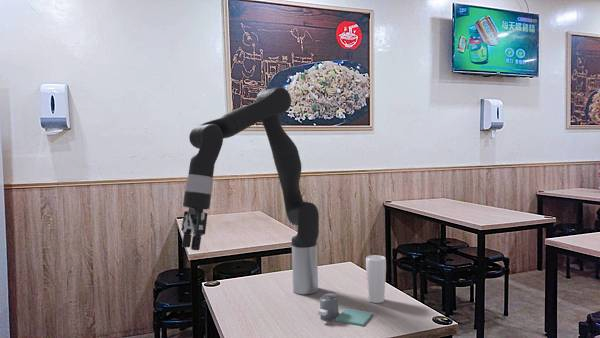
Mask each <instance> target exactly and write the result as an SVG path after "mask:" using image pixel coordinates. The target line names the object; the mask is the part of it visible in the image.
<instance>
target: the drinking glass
mask: <svg viewBox="0 0 600 338" xmlns="http://www.w3.org/2000/svg"><path fill="white" fill-rule="evenodd" d="M365 272H366V281H367V283H366V284H367V291H368V292H367V293H368V301H369V302H371V303H374V304H382V303H384V301H385V294H386V293H385V290H386V289H385V288H386V278H387V277H386V274H387V259H386V257H385V256H383V255H379V254H378V255H375V254H371V255H367V256H366V257H365Z"/></svg>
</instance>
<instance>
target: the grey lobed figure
mask: <svg viewBox="0 0 600 338" xmlns="http://www.w3.org/2000/svg"><path fill="white" fill-rule="evenodd" d="M339 310H340V309H339V295H338V294H337V293H332V292H331V293H326V294H324V295H323V296H321V297H320V298H319V309H318V310H317V311H318V313H317V314H318V315H319V316H320V318H319V319H320V320H322V321H324V322H330V321H332V322H333V321H335V319H336V318H337V317H338V316H339V315H340V312H339Z"/></svg>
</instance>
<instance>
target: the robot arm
mask: <svg viewBox="0 0 600 338" xmlns="http://www.w3.org/2000/svg"><path fill="white" fill-rule="evenodd" d="M255 99H256V101H255V102H253V103H250V104H247V105H244V106H240V107H238V108H236V109H234V110H231V111H229V112H227V113H225V114H223V115H221V116H218V118H214V119H212V120H209V121H206V122H203V123H201V124H199V125H196V126H195V127H193V128H192V130H191V131H190V133H189V136H188V137H189V138H188V139H189V143H190V144H191V146H193V147H194V148H196V149H198V152H197V153H196V154H195V155H193V156H192V157H191V158H190V162H189V168H188V173H187V174H188V175H187V179H186V182H185V189H184V195H183V196H184V197H183V201H182V202H183V203H182V206H183V207H184V208H188V211H187V210H185V211H184V212H183V216H182V217H183V218H182V224H181V228H180V230H181V232H182V234H183V238H182V244H181V246H182V248H190V249H191V250H192V251H200V247H201V240H202V237H203V235H204V236H205V235H206V230H207V221H208V213H207V212H204V210H209V209H210V207H211V201H212V193H213V181H214V174H215V173H214V171H215V164H216V162H217V160H218V158H219V156H220V155H219V154H220V152H221V148H222V146H223V142H224V139H228V138H231V137H233V136H235V135H238V134H239V133H241V132H243V131H244V130H247V129H248V128H250V127H251V126H253V125H255V124H257V123H260V122H262V125H263V127H264V130H265V133H266V136H267V139H268V142H269V147H270V150H271V155H272V158H273V161H274V166H275V169H276V171H277V172H276V173H277V175H278V179H279V184H280V187H281V190H282V195H283V201H284V203H283V204H284V208H285V213H286V217H287V220H288V221H289V223H291V224H292V225H294V226H297V233H296V235H293V236H292V237H291V259H292V260H291V261H292V263H291V265H292V292H293V293H295V294H298V295H312V294H316V293H317V292H318V291H319V289H318V288H319V277H318V276H319V273H318V268H319V267H318V249H317V246H318V244H317V241H318V237H319V233H320V232H319V231H320V229H319V225H320V224H319V223H320V222H319V221H320V218H319V217H320V215H319V210H318V207H317V205H316V204H315V203H313V202H308V201H304V199H303V196H302V192H301V189H300V179H301V176H302V162H301V157H300V153H299V150H298V148H297V145H296V144H295V142H294V141H293V139H291V137H290V136H289V135H288V134H287V132H286V131H285V130H284V128H283V126H282V124H281V121H280V118H279V115H282V114H285V113H286V112H287V111H289V109H290V107H291V106H292V105H291V104H292V97H291V94H290V92H289V91H288V90H287V89H286V88H284V87H279V86H277V87H272V88H269V89H264V90H262V91H259V92H258V93H257V96H256V98H255Z"/></svg>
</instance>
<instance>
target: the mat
mask: <svg viewBox="0 0 600 338" xmlns="http://www.w3.org/2000/svg"><path fill="white" fill-rule="evenodd" d="M373 315H374V312H372V311H371V312H370V311H364V310H359V309H354V308H353V309H352V308H347V307H346V308H345V309H343V310H342V312H341V313H339V315H338V316H337V317H336V318H335V319H334V321H335V322H339V323H345V324H350V325H356V326H361V327H364V326H365V324H367V322H368V321H369V320H370V319H371V317H372V316H373Z"/></svg>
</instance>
